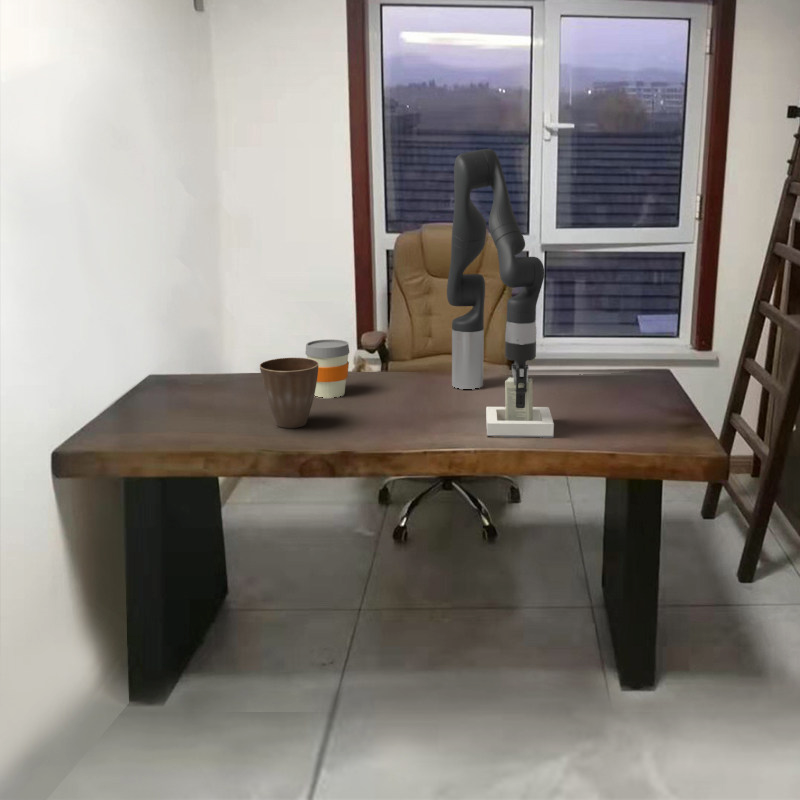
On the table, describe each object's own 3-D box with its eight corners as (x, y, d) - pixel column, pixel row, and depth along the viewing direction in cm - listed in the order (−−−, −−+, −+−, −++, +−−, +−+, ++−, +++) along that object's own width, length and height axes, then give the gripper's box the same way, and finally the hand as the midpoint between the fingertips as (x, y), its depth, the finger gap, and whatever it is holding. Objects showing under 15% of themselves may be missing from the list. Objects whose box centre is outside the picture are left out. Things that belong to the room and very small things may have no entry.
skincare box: (533, 425, 228) (534, 378, 224) (529, 430, 224) (530, 382, 220) (508, 423, 230) (508, 376, 227) (504, 427, 226) (504, 380, 223)
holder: (486, 419, 235) (486, 406, 234) (548, 420, 233) (548, 407, 233) (487, 437, 220) (487, 423, 219) (553, 437, 219) (553, 423, 218)
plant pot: (332, 420, 236) (330, 360, 232) (299, 435, 224) (296, 373, 219) (285, 413, 243) (282, 355, 239) (251, 428, 231) (247, 367, 226)
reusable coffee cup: (354, 389, 267) (352, 339, 263) (346, 400, 255) (344, 348, 251) (312, 388, 269) (310, 339, 265) (302, 399, 257) (300, 347, 253)
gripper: (504, 333, 228) (503, 395, 232) (506, 345, 214) (505, 411, 219) (534, 333, 227) (532, 395, 232) (538, 345, 214) (536, 411, 218)
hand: (519, 403), depth 225 cm, fingers open, 8 cm apart
